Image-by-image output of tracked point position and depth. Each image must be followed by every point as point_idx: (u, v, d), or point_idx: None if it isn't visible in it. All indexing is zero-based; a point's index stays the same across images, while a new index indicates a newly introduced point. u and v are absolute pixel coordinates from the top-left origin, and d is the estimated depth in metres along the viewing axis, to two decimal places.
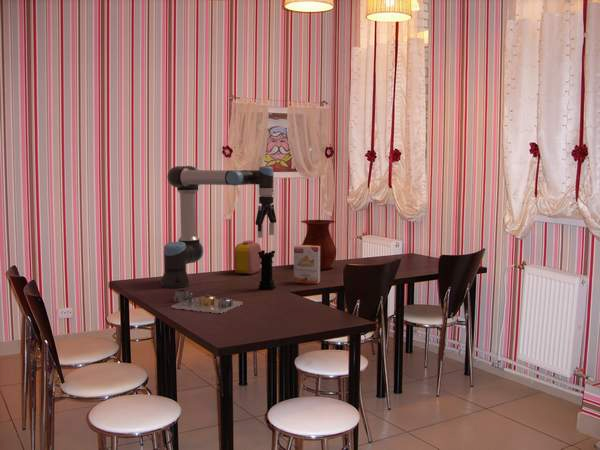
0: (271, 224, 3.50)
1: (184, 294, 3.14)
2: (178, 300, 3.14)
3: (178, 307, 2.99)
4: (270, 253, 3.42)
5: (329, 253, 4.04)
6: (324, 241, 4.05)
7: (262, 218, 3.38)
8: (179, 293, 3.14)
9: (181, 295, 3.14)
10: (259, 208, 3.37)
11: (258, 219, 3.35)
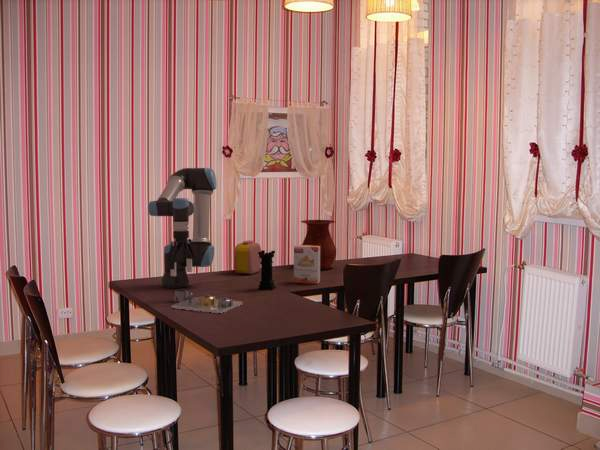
0: (188, 260, 3.21)
1: (184, 294, 3.14)
2: (178, 300, 3.14)
3: (178, 307, 2.99)
4: (270, 253, 3.42)
5: (329, 253, 4.04)
6: (324, 241, 4.05)
7: (175, 255, 3.09)
8: (179, 293, 3.14)
9: (181, 295, 3.14)
10: (172, 244, 3.08)
11: (170, 256, 3.06)
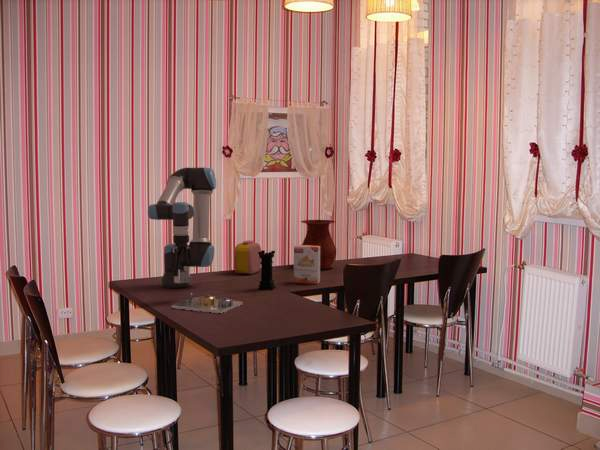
0: (186, 268, 3.19)
1: (184, 275, 3.14)
2: None
3: (178, 307, 2.99)
4: (270, 253, 3.42)
5: (329, 253, 4.04)
6: (324, 241, 4.05)
7: (178, 261, 3.11)
8: None
9: (181, 276, 3.13)
10: (172, 251, 3.09)
11: (173, 264, 3.09)
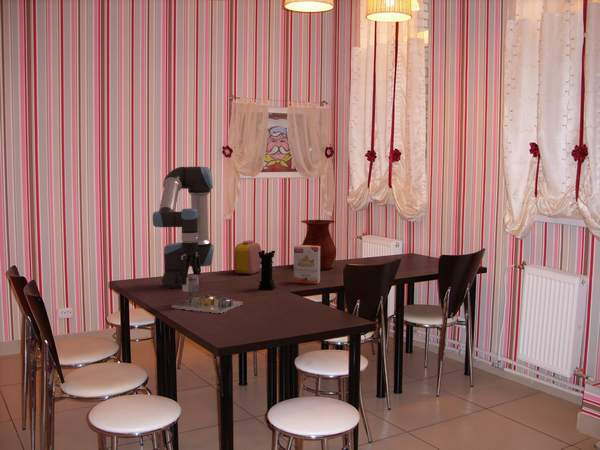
0: (194, 276, 3.10)
1: (193, 283, 3.04)
2: None
3: (178, 307, 2.99)
4: (270, 253, 3.42)
5: (329, 253, 4.04)
6: (324, 241, 4.05)
7: (186, 269, 3.02)
8: None
9: (189, 284, 3.04)
10: (181, 258, 3.00)
11: (181, 271, 3.00)
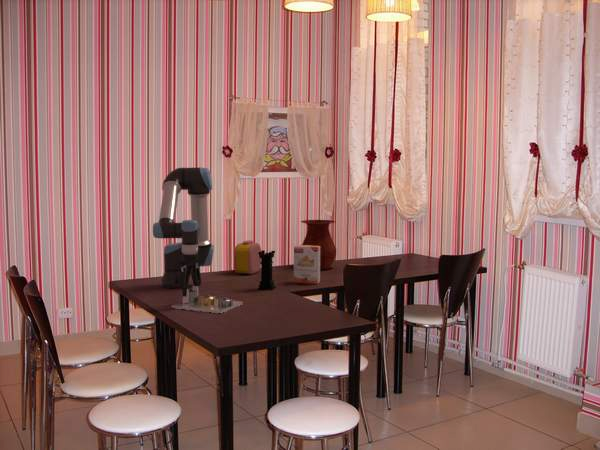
0: (195, 287, 3.11)
1: (193, 295, 3.05)
2: None
3: (178, 307, 2.99)
4: (270, 253, 3.42)
5: (329, 253, 4.04)
6: (324, 241, 4.05)
7: (186, 281, 3.03)
8: None
9: (190, 296, 3.05)
10: (181, 270, 3.01)
11: (182, 283, 3.00)
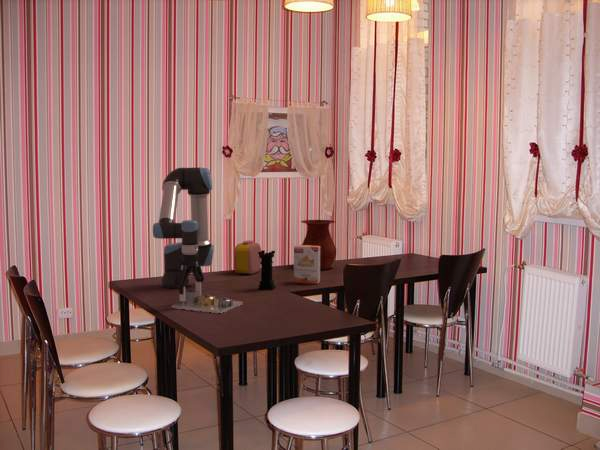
0: (197, 283, 3.13)
1: (193, 295, 3.05)
2: (187, 301, 3.05)
3: (178, 307, 2.99)
4: (270, 253, 3.42)
5: (329, 253, 4.04)
6: (324, 241, 4.05)
7: (184, 279, 3.01)
8: (188, 294, 3.05)
9: (190, 296, 3.05)
10: (181, 268, 3.00)
11: (179, 281, 2.98)
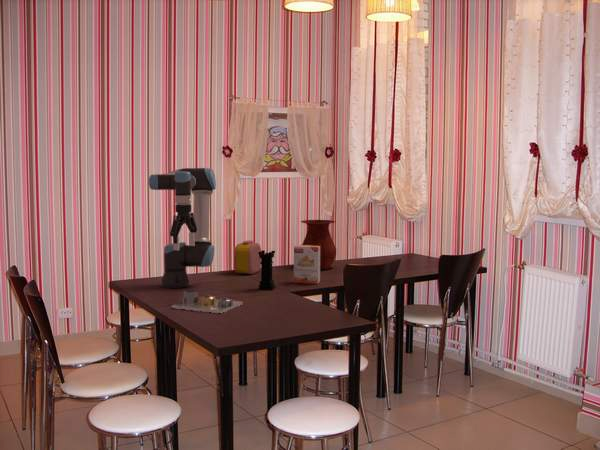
0: (191, 234, 3.19)
1: (193, 295, 3.05)
2: (187, 301, 3.05)
3: (178, 307, 2.99)
4: (270, 253, 3.42)
5: (329, 253, 4.04)
6: (324, 241, 4.05)
7: (178, 229, 3.07)
8: (188, 294, 3.05)
9: (190, 296, 3.05)
10: (174, 218, 3.06)
11: (173, 230, 3.04)
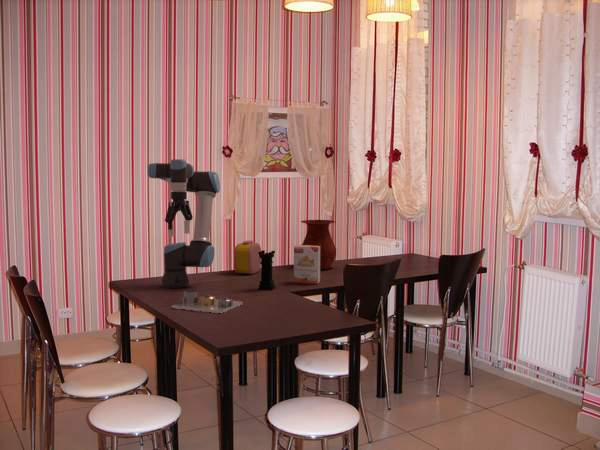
0: (186, 222, 3.23)
1: (193, 295, 3.05)
2: (187, 301, 3.05)
3: (178, 307, 2.99)
4: (270, 253, 3.42)
5: (329, 253, 4.04)
6: (324, 241, 4.05)
7: (173, 215, 3.11)
8: (188, 294, 3.05)
9: (190, 296, 3.05)
10: (169, 204, 3.10)
11: (168, 216, 3.08)
